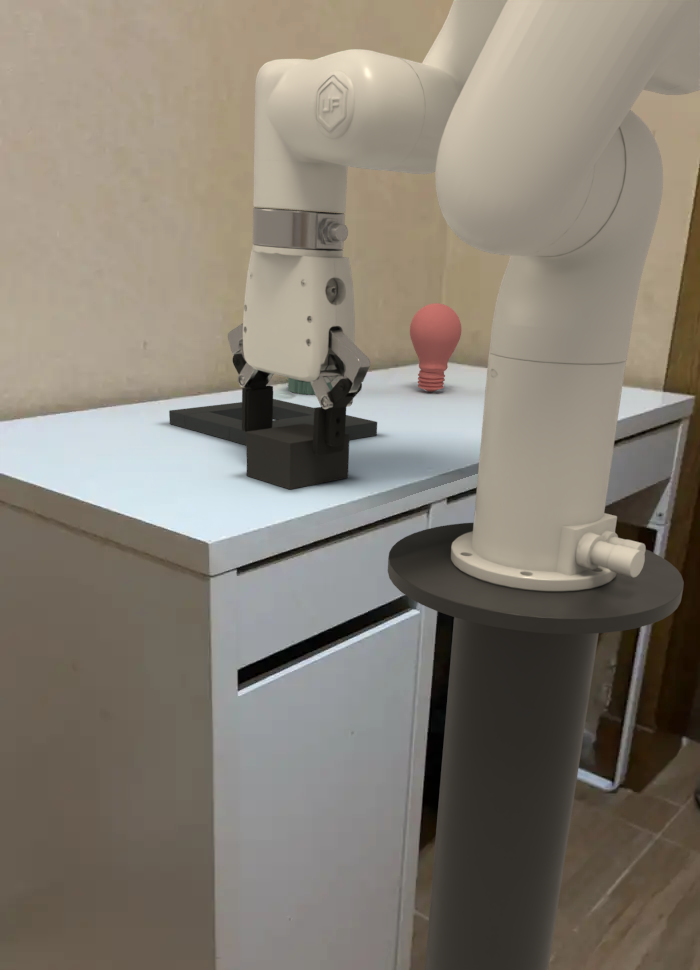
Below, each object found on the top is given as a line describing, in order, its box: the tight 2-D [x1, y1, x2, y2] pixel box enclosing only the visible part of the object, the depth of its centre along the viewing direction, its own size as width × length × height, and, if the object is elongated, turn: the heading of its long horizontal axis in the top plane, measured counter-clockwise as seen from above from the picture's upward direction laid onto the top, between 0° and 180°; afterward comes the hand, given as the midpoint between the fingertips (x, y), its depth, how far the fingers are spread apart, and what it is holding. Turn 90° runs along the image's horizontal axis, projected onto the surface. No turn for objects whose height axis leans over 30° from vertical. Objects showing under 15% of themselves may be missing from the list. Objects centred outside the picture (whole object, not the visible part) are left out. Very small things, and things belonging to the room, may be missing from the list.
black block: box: [245, 423, 350, 490], centre depth 84 cm, size 6×7×4 cm
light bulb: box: [409, 302, 462, 393], centre depth 130 cm, size 7×7×12 cm
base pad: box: [168, 398, 378, 446], centre depth 104 cm, size 18×15×2 cm
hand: (291, 441), depth 84 cm, fingers open, 9 cm apart
